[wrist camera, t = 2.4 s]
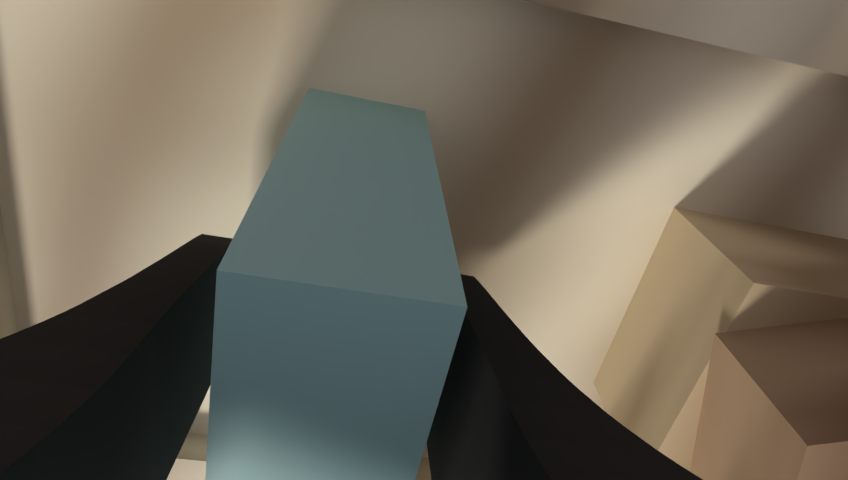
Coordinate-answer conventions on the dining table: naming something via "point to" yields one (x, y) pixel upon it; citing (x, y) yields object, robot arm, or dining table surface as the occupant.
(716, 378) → the offcut
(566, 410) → the robot arm
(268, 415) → the panel
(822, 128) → the wooden tray
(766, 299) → the offcut
